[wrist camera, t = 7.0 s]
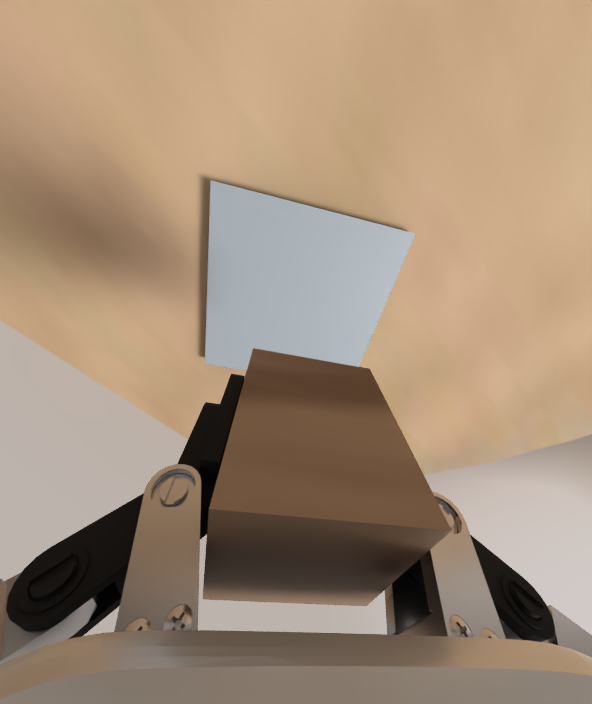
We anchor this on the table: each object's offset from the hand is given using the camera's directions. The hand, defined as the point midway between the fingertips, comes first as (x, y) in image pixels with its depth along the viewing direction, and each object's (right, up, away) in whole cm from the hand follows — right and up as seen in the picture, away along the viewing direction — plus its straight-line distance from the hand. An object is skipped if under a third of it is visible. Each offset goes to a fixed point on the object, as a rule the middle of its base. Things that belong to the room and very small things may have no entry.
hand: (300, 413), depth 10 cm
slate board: (0, +7, +12) cm, 14 cm away
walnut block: (0, 0, +1) cm, 1 cm away
